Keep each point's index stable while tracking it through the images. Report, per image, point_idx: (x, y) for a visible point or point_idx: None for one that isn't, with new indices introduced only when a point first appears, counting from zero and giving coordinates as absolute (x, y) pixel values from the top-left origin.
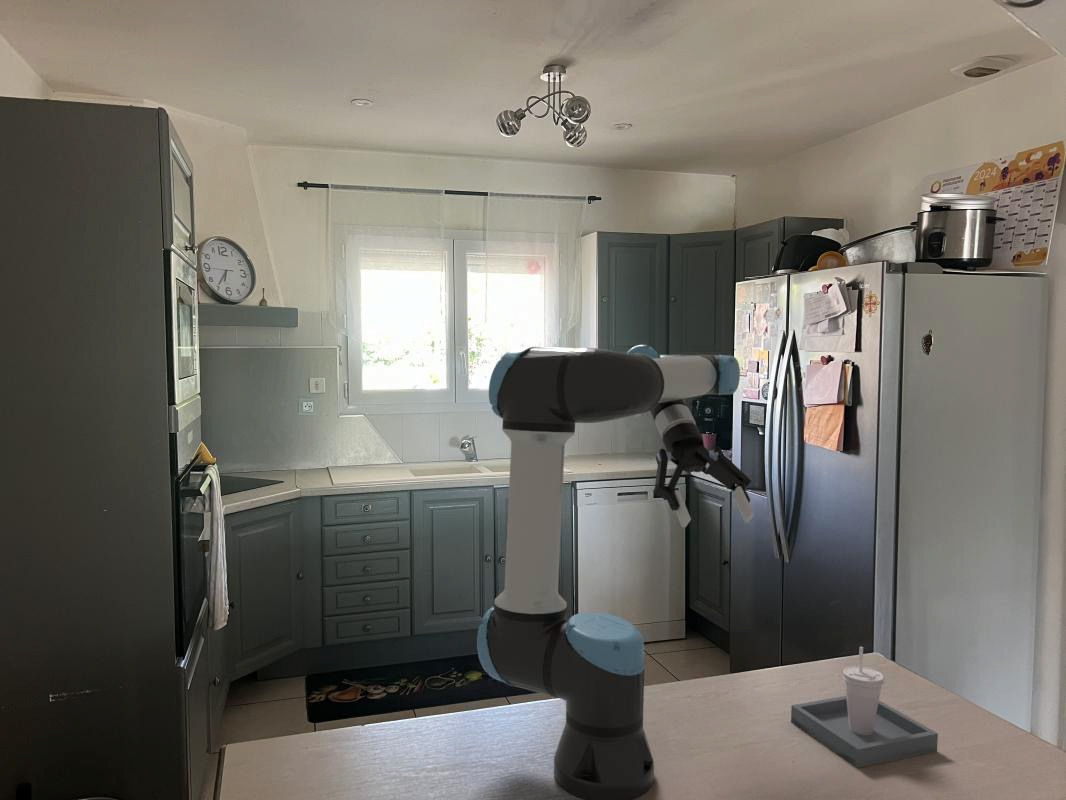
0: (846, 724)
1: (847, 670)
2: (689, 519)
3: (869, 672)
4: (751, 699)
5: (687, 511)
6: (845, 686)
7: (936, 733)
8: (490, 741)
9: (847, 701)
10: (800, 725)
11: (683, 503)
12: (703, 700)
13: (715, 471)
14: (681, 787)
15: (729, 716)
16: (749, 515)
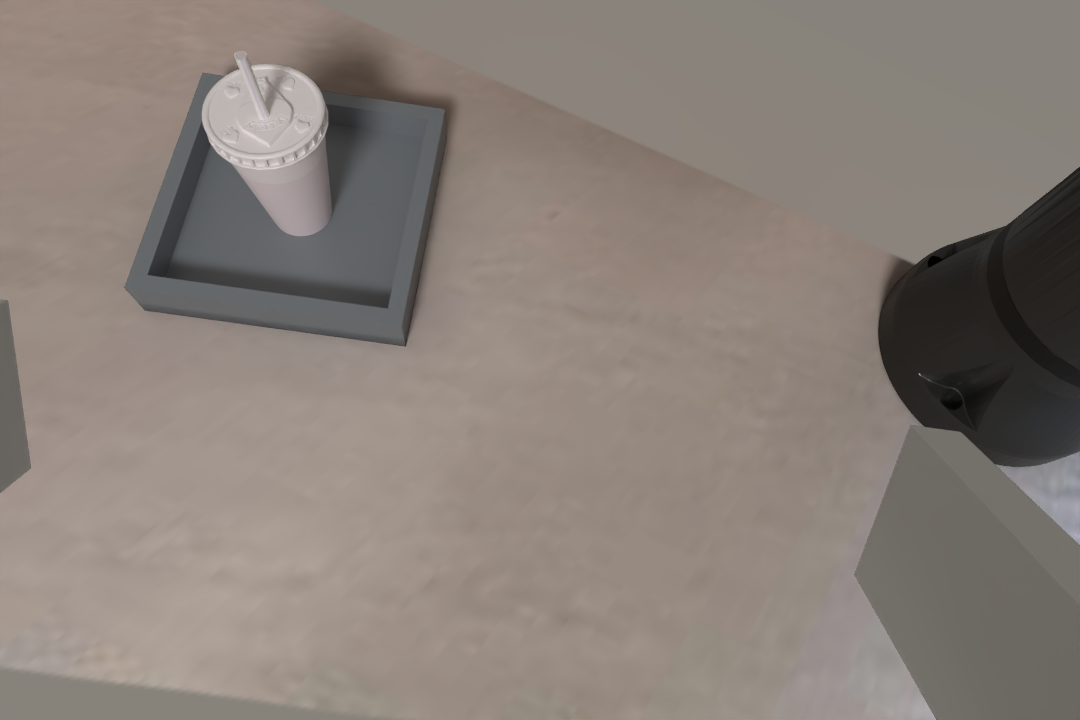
0: (308, 245)
1: (283, 145)
2: (932, 429)
3: (232, 110)
4: (394, 506)
5: (977, 487)
6: (308, 169)
7: (205, 74)
8: None
9: (319, 184)
10: (412, 306)
11: (1077, 586)
12: (540, 570)
13: None
14: (845, 247)
15: (538, 448)
16: (3, 341)
